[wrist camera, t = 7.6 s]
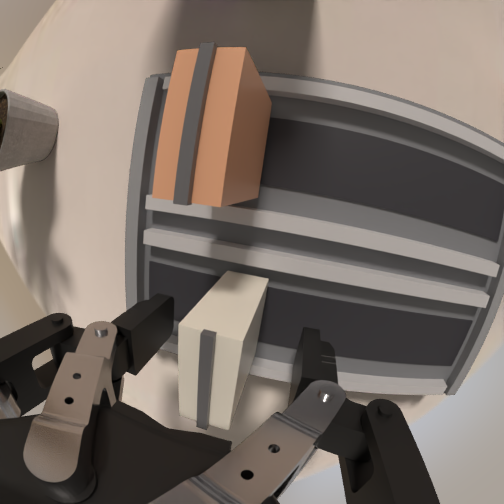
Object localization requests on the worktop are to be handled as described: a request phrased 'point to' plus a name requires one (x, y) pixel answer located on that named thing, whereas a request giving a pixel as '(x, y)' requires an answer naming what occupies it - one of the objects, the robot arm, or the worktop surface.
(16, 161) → the house plant
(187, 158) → the block
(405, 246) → the console
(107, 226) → the worktop surface
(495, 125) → the worktop surface
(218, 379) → the fader far
